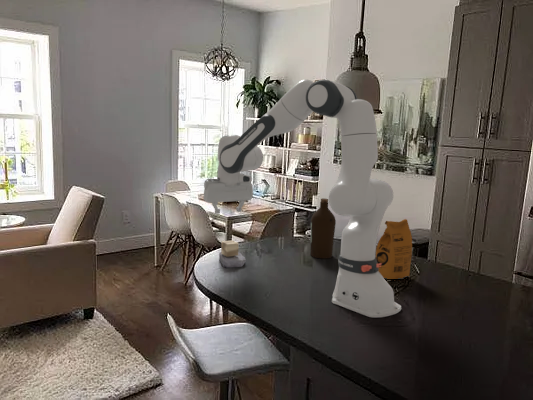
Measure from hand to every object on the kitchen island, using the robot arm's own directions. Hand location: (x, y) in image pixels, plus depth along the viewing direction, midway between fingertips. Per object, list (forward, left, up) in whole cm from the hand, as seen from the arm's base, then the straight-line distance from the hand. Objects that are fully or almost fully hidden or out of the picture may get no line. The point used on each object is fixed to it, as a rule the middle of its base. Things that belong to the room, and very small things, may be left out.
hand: (228, 212), depth 171 cm
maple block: (0, -1, -17) cm, 17 cm away
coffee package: (-42, -48, -21) cm, 67 cm away
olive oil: (-8, -42, -21) cm, 48 cm away
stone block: (0, -3, -21) cm, 21 cm away
